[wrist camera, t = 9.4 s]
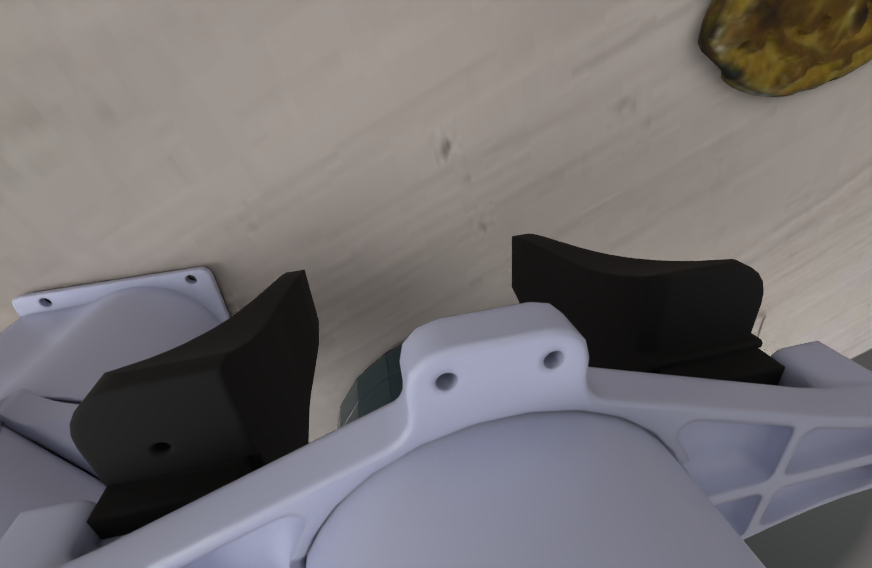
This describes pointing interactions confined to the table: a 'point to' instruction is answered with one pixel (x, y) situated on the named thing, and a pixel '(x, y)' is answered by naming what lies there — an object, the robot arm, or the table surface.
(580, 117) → the table surface
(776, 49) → the seal
